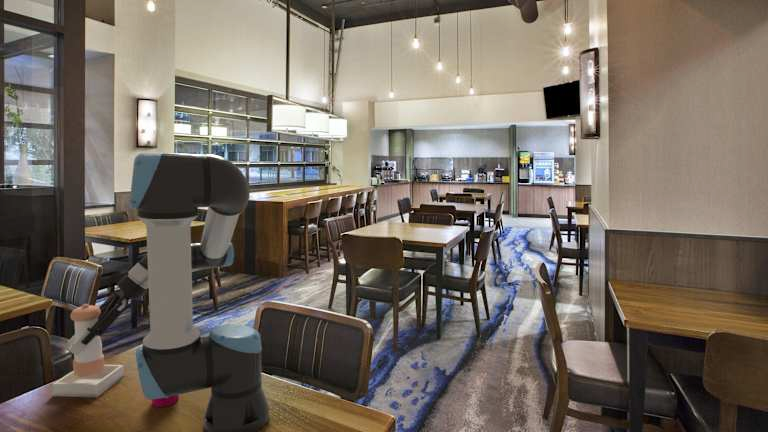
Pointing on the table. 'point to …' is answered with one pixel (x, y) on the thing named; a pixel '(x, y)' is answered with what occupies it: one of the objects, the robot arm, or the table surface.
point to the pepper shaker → (92, 354)
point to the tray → (88, 382)
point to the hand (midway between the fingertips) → (72, 348)
